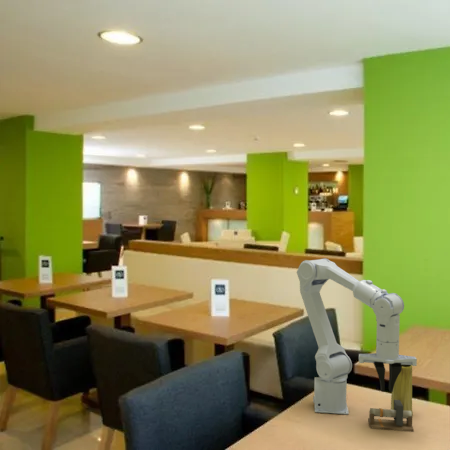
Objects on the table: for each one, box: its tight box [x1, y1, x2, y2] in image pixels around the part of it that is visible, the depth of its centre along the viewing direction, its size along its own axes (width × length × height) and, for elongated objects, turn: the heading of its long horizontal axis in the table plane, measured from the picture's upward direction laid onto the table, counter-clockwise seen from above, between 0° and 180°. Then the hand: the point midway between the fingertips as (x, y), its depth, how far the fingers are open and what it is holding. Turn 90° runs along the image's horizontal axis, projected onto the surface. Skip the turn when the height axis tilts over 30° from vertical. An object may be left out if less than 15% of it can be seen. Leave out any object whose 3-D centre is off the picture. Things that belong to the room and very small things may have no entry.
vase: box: [390, 364, 414, 416], centre depth 142 cm, size 6×6×14 cm
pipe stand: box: [367, 407, 414, 432], centre depth 134 cm, size 11×5×4 cm, turn 81°
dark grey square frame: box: [393, 400, 404, 426], centre depth 134 cm, size 2×4×5 cm, turn 171°
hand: (386, 390), depth 132 cm, fingers closed
